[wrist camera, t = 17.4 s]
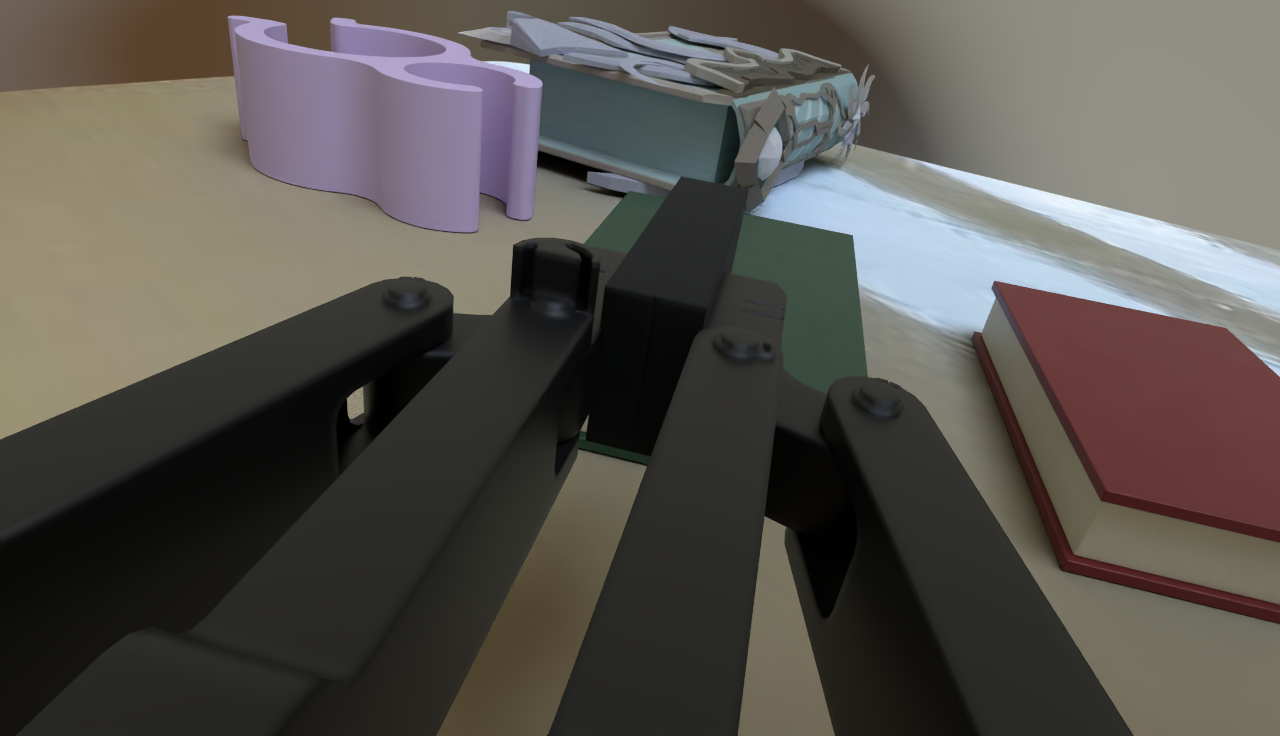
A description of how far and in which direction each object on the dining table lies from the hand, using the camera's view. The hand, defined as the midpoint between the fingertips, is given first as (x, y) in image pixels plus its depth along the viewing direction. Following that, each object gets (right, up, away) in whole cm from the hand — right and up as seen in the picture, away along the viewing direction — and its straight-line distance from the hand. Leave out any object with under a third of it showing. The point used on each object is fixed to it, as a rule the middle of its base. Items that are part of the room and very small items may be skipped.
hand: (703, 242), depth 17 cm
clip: (-16, +9, +29) cm, 34 cm away
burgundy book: (+16, -9, +4) cm, 19 cm away
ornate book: (+2, +14, +42) cm, 45 cm away
